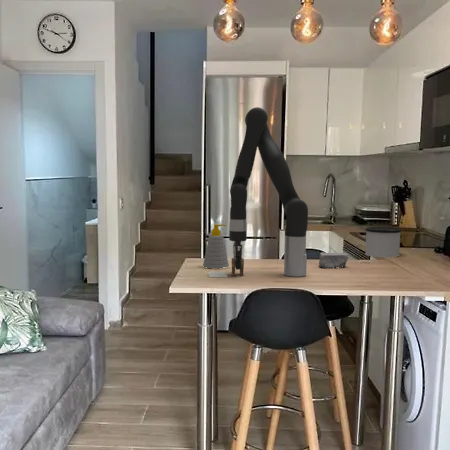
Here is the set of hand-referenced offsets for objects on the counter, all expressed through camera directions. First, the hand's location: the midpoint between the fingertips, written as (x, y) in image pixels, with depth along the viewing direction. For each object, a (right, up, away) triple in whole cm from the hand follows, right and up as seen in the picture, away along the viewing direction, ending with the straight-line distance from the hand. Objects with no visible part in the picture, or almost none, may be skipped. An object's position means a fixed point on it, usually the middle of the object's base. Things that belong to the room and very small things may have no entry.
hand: (237, 267), depth 207 cm
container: (+84, +1, +62) cm, 104 cm away
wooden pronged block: (0, -3, 0) cm, 3 cm away
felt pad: (-8, -3, 0) cm, 9 cm away
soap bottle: (-10, -2, +20) cm, 22 cm away
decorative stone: (+46, -2, +22) cm, 51 cm away
